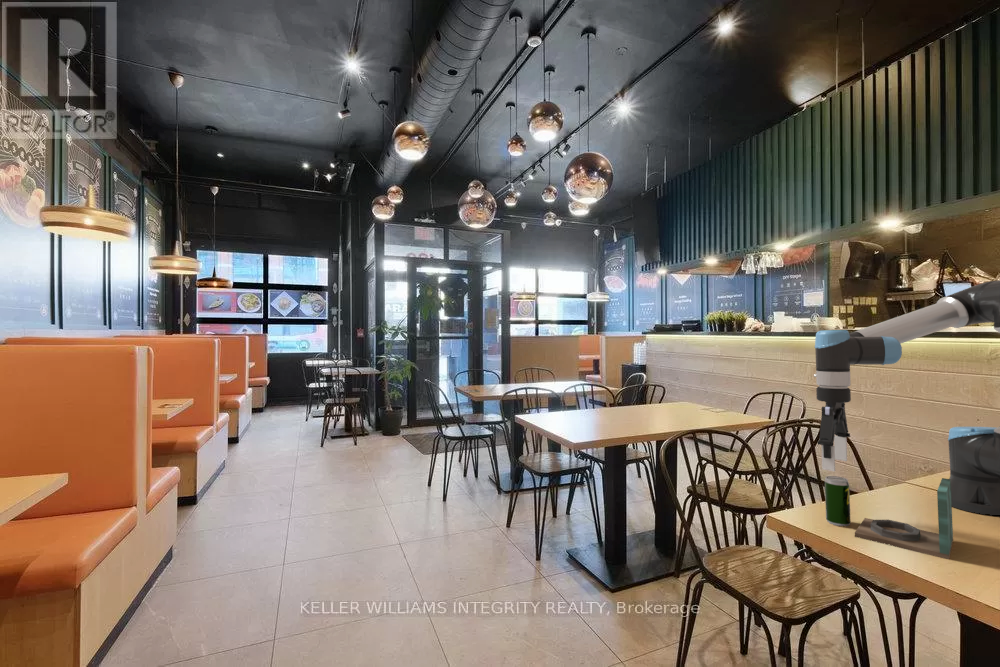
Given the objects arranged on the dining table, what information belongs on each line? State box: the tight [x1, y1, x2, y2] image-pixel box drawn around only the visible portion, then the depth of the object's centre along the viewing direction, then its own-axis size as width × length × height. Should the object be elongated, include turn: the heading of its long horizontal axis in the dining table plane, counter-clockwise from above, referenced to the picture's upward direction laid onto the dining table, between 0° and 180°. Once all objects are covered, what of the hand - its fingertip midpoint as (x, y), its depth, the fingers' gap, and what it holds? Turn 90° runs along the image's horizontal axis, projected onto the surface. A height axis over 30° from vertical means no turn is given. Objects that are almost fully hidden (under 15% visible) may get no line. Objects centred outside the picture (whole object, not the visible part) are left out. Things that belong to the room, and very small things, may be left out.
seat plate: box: [854, 477, 954, 560], centre depth 113 cm, size 13×17×15 cm
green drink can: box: [824, 475, 851, 527], centre depth 123 cm, size 5×5×12 cm
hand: (834, 465), depth 124 cm, fingers open, 13 cm apart
